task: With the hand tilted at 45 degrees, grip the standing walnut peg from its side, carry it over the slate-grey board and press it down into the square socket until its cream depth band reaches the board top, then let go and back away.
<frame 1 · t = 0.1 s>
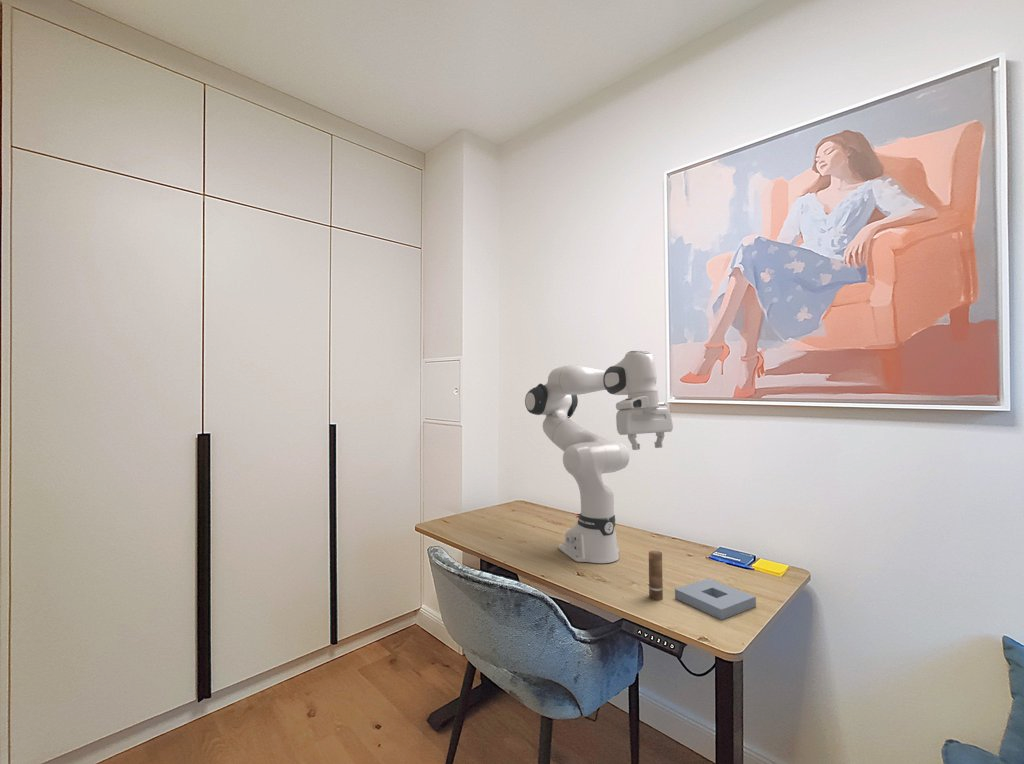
hand: (647, 448, 139), 39 cm above the table, tool pointing down, fingers open, 8 cm apart
peg: (655, 597, 125), on the table
socket board: (714, 602, 122), on the table
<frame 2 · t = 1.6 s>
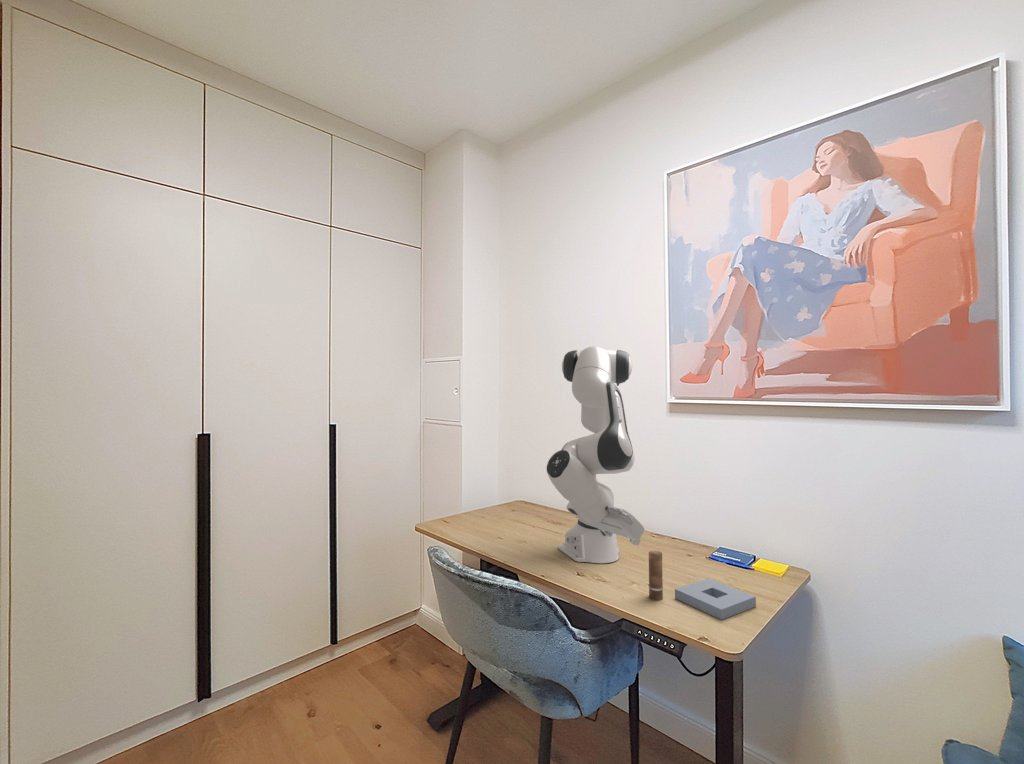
hand: (623, 538, 119), 18 cm above the table, tool tilted 45°, fingers open, 8 cm apart
nothing on the table moved.
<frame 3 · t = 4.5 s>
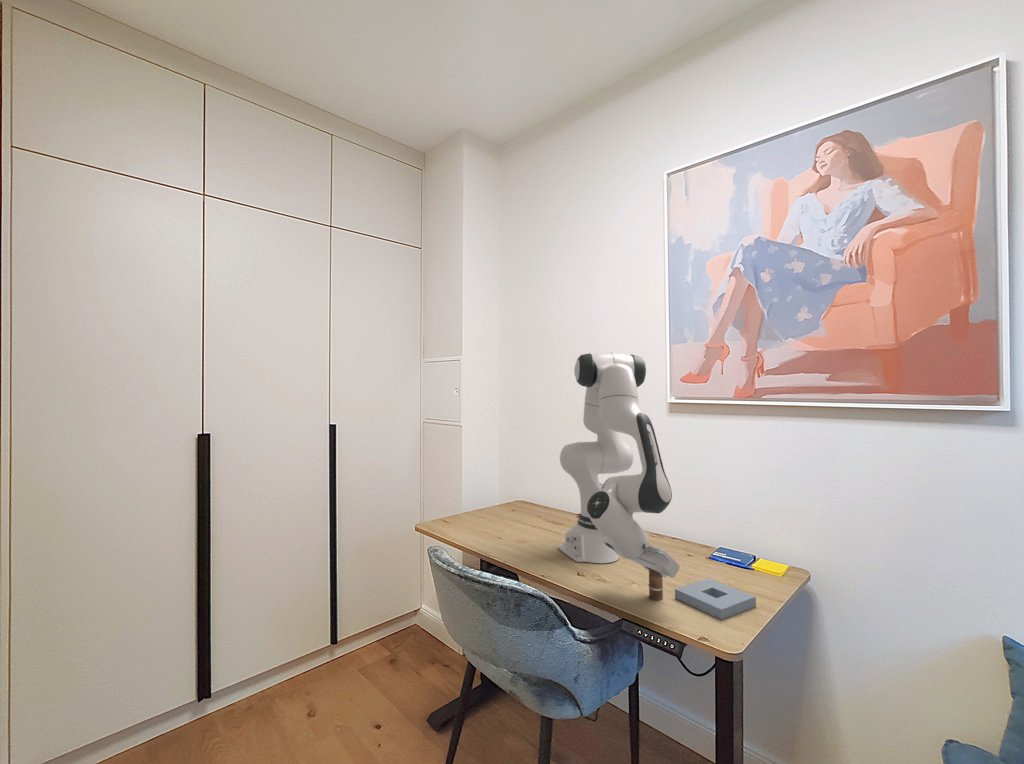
hand: (657, 571, 125), 7 cm above the table, tool tilted 45°, fingers closed on peg, 3 cm apart
peg: (655, 597, 125), on the table, touching gripper
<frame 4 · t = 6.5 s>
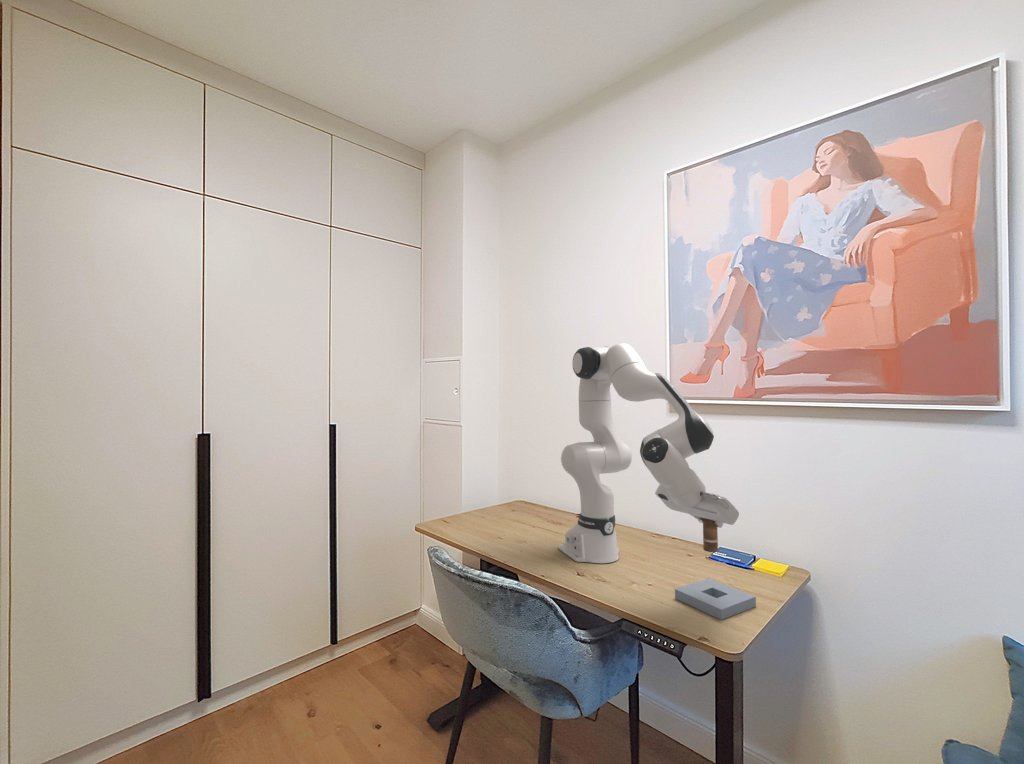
hand: (711, 523, 123), 21 cm above the table, tool tilted 45°, fingers closed on peg, 3 cm apart
peg: (710, 550, 122), point 14 cm above the table, touching gripper
when the fingers open (7 cm above the table, at t = 8.7 s): peg stays where it is, resting in socket board.
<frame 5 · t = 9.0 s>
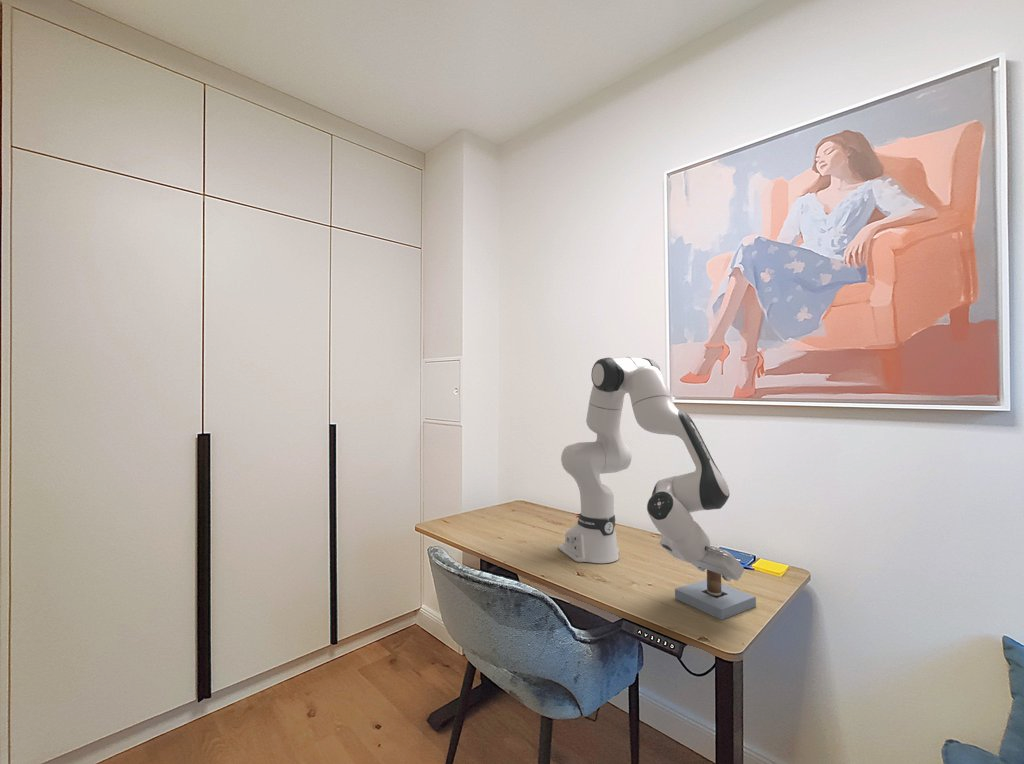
hand: (715, 573, 122), 7 cm above the table, tool tilted 45°, fingers open, 6 cm apart
peg: (714, 602, 122), resting in socket board
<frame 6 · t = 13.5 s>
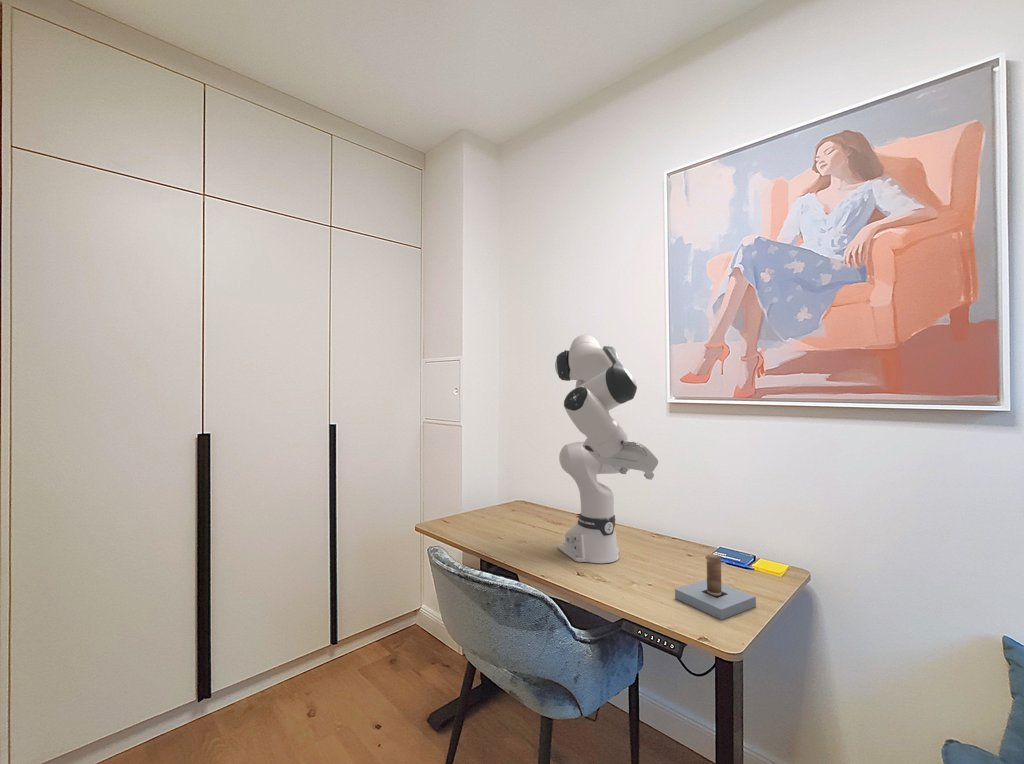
hand: (637, 474, 124), 33 cm above the table, tool tilted 45°, fingers open, 8 cm apart
nothing on the table moved.
at the end: peg 0.1 cm off-centre on the socket board, point 0.0 cm above the socket board's base; peg tilted 0°; the gripper is holding nothing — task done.
